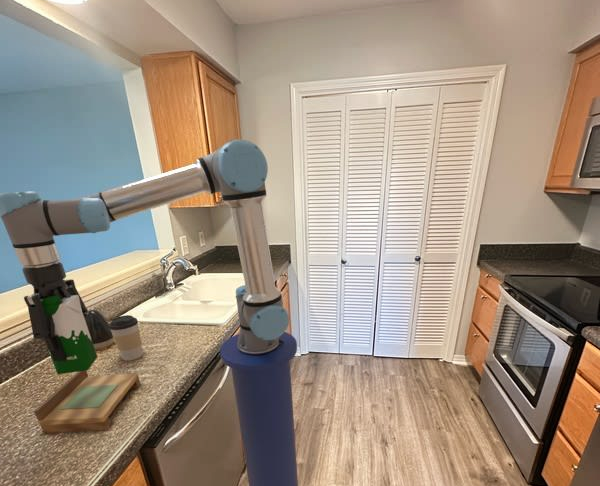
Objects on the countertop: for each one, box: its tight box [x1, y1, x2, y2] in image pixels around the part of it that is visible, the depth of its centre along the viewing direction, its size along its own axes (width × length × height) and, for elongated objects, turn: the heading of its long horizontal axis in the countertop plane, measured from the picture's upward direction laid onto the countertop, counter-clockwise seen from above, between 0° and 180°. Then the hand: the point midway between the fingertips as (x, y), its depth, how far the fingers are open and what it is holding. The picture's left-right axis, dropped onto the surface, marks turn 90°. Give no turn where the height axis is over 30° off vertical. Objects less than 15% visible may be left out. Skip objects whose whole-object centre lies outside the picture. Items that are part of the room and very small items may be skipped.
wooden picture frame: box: [33, 370, 141, 434], centre depth 90 cm, size 16×20×7 cm
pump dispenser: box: [84, 309, 115, 350], centre depth 123 cm, size 10×10×15 cm
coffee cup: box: [109, 314, 144, 361], centre depth 115 cm, size 9×9×15 cm
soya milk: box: [40, 294, 98, 375], centre depth 81 cm, size 9×9×20 cm
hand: (73, 350), depth 83 cm, fingers closed on soya milk, 9 cm apart
